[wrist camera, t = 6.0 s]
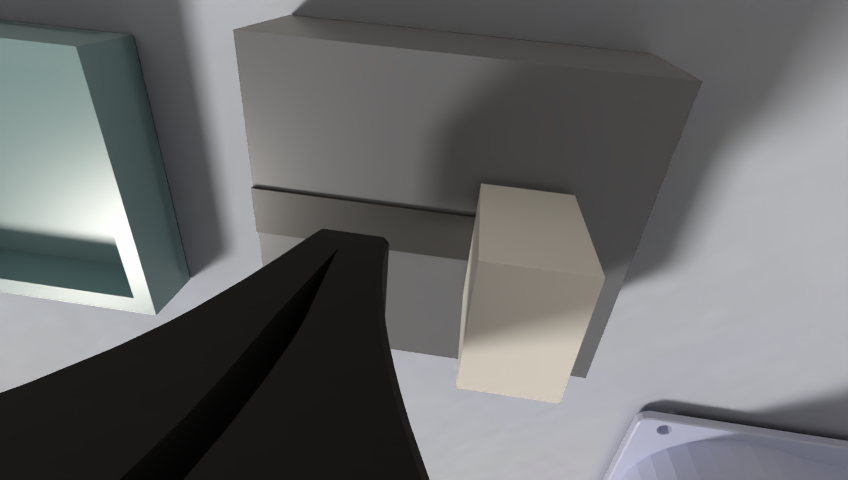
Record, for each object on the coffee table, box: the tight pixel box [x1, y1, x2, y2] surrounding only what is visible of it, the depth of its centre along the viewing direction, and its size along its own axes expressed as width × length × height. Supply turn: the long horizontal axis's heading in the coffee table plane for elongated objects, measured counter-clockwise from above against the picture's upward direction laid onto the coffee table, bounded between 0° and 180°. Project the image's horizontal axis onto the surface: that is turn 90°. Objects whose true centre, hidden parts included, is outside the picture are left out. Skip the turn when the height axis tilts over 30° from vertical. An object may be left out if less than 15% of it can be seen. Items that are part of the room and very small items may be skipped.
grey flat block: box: [233, 15, 702, 378], centre depth 12 cm, size 9×8×3 cm
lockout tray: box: [0, 20, 190, 315], centre depth 14 cm, size 8×8×2 cm
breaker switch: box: [456, 183, 605, 404], centre depth 9 cm, size 2×3×3 cm, turn 175°
